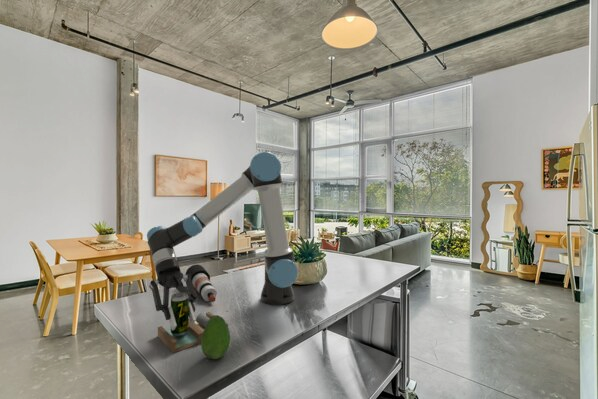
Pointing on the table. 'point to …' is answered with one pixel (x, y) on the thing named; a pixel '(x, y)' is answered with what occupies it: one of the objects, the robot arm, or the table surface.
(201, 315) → the smooth gray cylinder
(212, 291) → the cable
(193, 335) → the caddy
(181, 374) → the table surface
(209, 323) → the avocado
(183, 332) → the beer can
